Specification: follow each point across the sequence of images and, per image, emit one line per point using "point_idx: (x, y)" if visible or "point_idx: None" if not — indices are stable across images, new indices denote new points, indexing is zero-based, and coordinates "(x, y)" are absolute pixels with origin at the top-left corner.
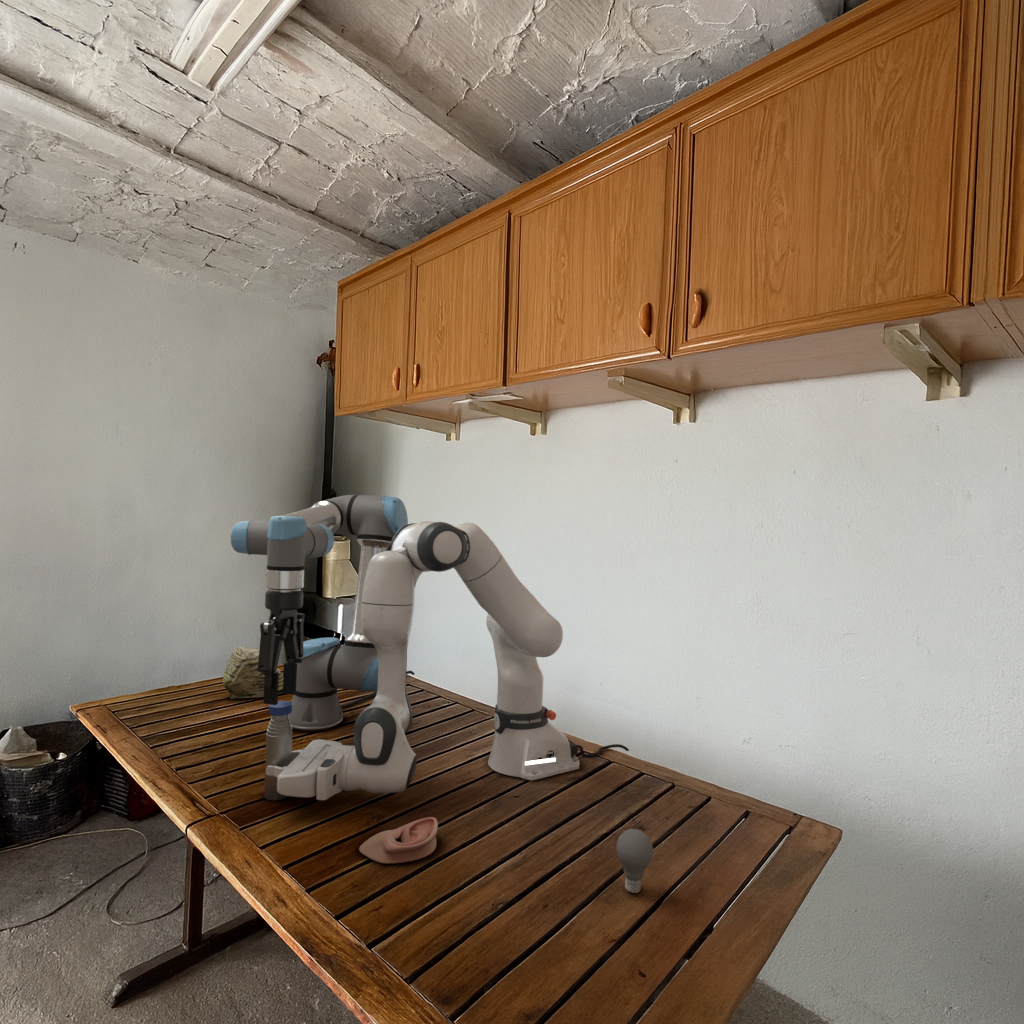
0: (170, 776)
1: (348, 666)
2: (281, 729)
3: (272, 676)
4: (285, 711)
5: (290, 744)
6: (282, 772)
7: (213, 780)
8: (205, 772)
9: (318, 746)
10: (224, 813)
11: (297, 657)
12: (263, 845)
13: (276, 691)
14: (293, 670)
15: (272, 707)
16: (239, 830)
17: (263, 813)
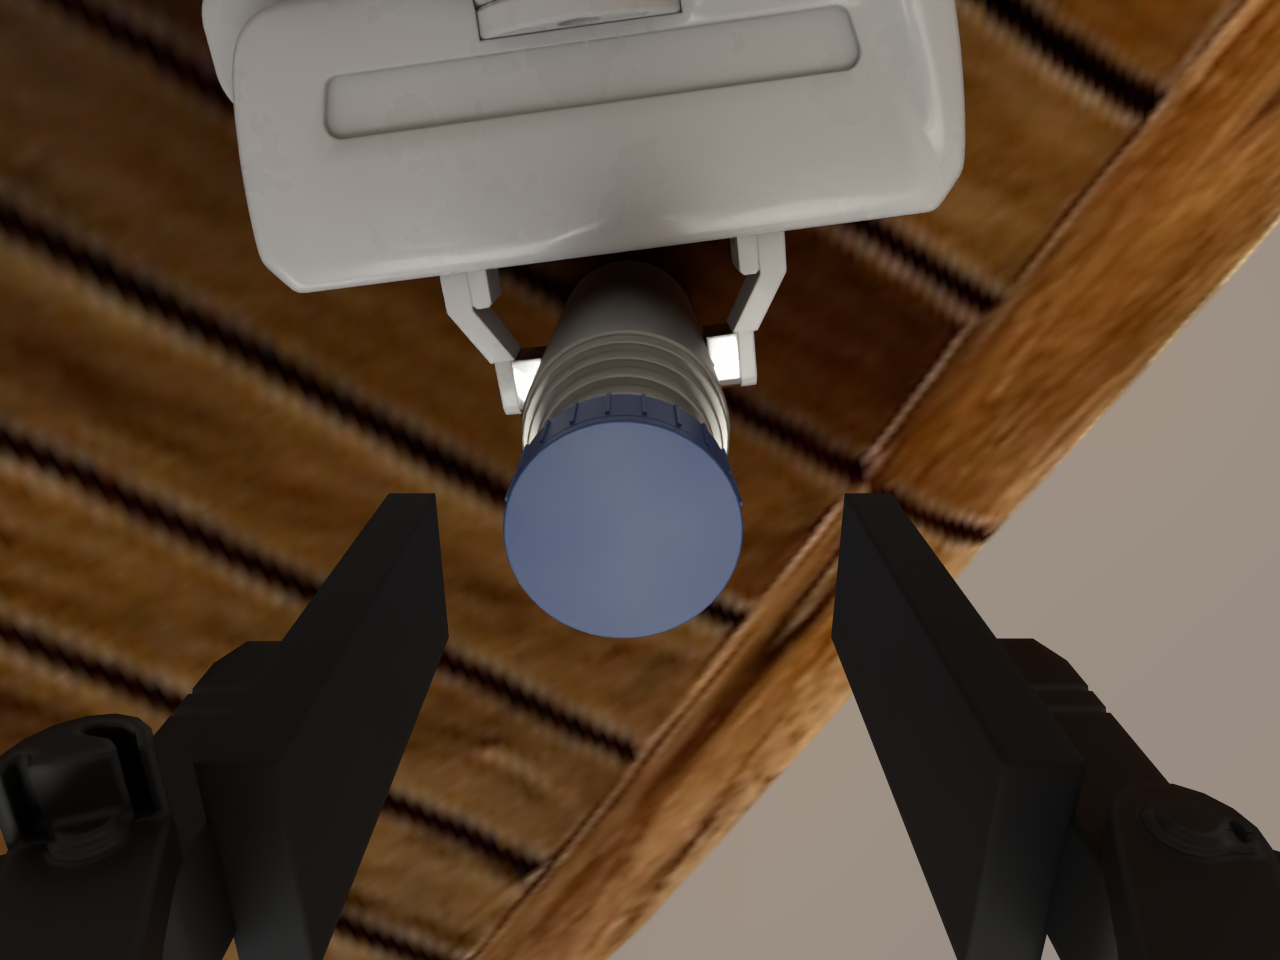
0: (597, 852)
1: None
2: (703, 392)
3: (1099, 774)
4: (684, 423)
5: (626, 310)
6: (896, 200)
7: (577, 685)
8: (516, 758)
9: (393, 179)
10: (860, 461)
11: (80, 888)
12: (1128, 106)
13: (935, 571)
14: (327, 710)
15: (734, 563)
16: (1002, 304)
17: (828, 286)
